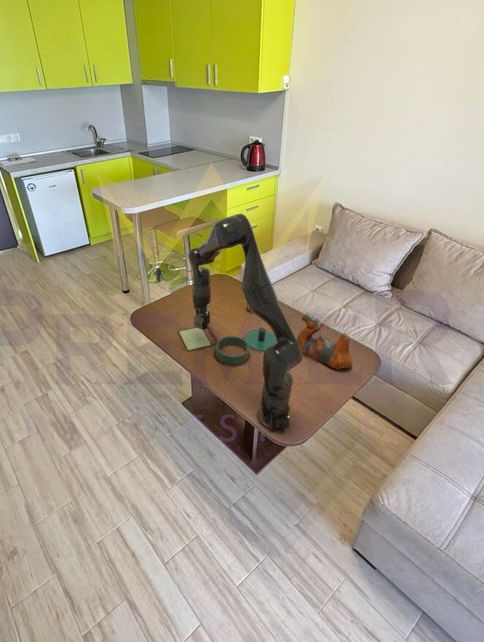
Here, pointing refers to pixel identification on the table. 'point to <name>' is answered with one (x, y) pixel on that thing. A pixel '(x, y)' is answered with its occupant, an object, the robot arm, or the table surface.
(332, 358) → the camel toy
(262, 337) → the pot lid
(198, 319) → the dice cube
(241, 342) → the pot
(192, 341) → the placemat
